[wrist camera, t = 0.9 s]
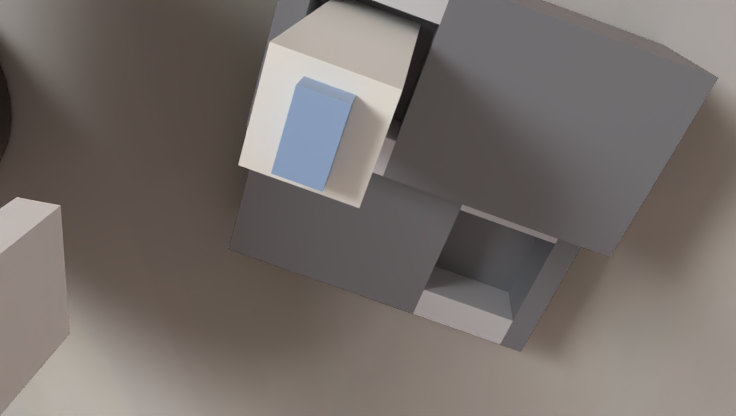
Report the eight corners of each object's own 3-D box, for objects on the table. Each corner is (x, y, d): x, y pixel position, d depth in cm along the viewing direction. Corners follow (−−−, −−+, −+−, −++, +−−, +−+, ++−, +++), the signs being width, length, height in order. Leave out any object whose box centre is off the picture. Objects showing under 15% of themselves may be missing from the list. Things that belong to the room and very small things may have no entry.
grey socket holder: (246, 222, 38) (206, 281, 32) (328, -79, 31) (297, -78, 24) (515, 316, 39) (527, 393, 33) (664, 45, 31) (718, 77, 25)
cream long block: (314, 75, 30) (227, 177, 18) (338, -6, 28) (259, 48, 16) (392, 103, 30) (354, 222, 18) (420, 24, 28) (399, 99, 17)
